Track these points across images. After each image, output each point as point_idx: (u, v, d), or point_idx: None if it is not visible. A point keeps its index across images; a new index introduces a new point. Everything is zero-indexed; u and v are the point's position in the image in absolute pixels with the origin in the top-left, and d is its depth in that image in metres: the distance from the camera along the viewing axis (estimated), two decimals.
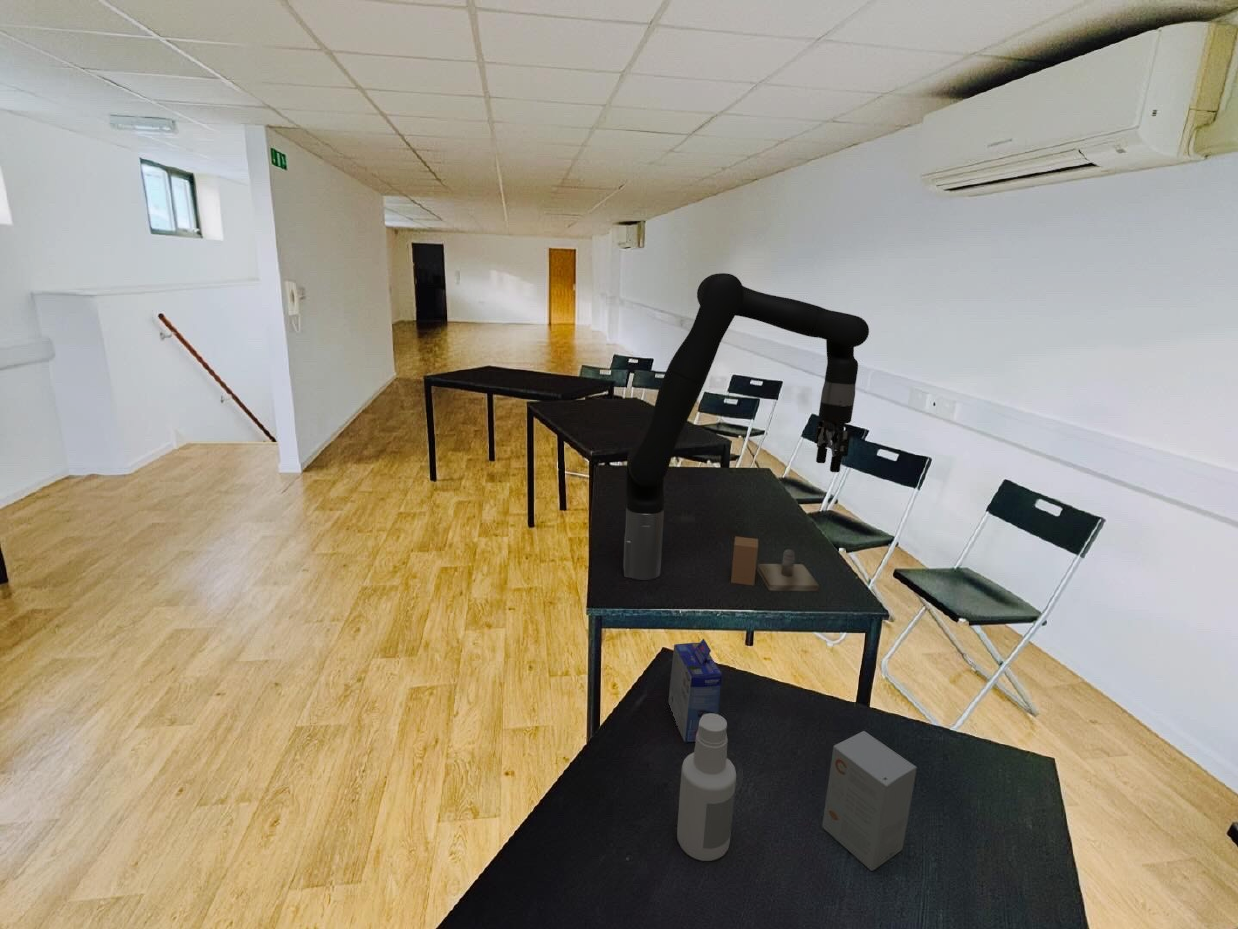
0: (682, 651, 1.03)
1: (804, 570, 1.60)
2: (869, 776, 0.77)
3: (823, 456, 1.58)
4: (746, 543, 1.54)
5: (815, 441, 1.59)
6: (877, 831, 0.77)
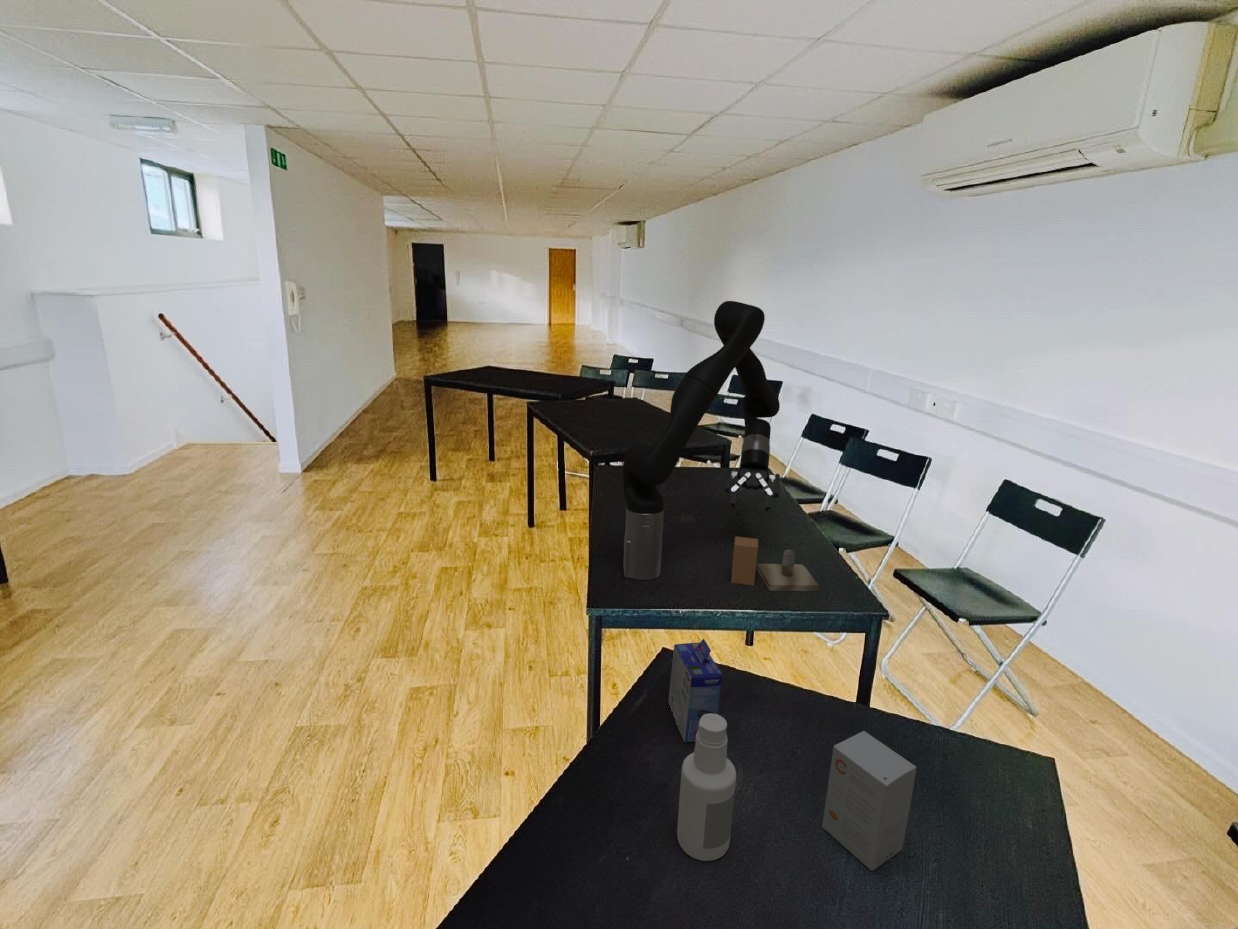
0: (682, 651, 1.03)
1: (804, 570, 1.60)
2: (869, 776, 0.77)
3: None
4: (746, 543, 1.54)
5: (727, 486, 1.67)
6: (877, 831, 0.77)
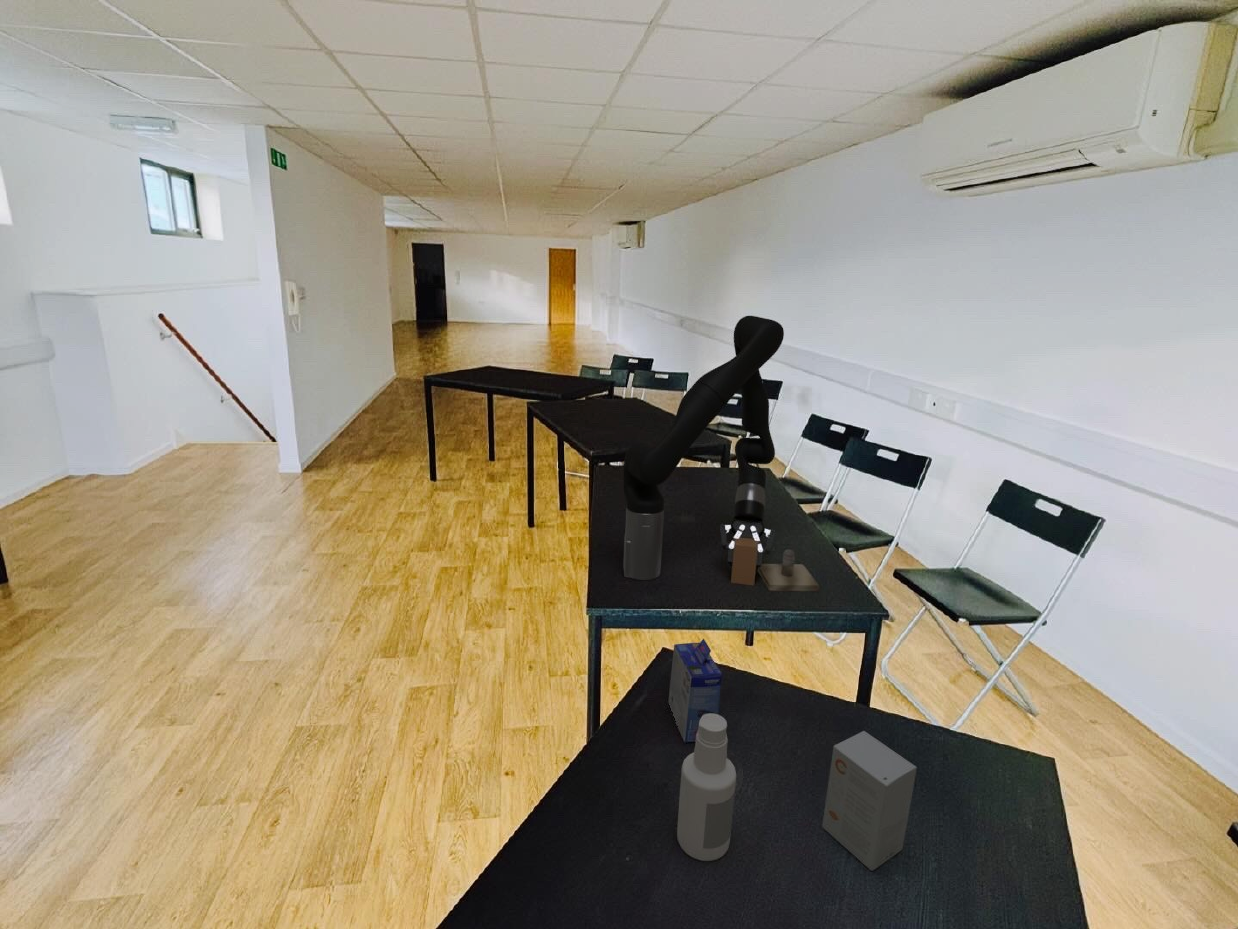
0: (682, 651, 1.03)
1: (804, 570, 1.60)
2: (869, 776, 0.77)
3: None
4: (746, 543, 1.54)
5: (725, 543, 1.57)
6: (877, 831, 0.77)
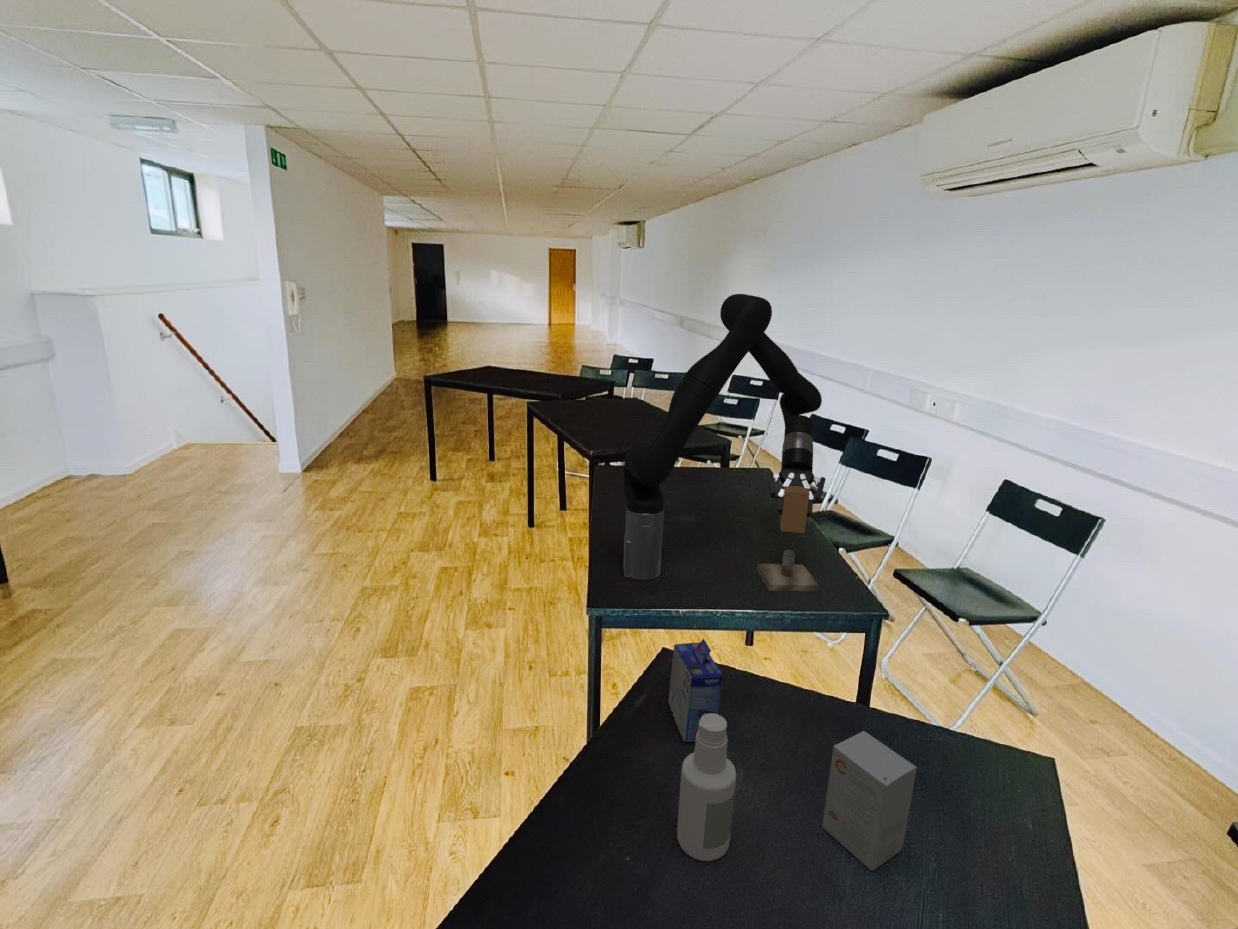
0: (682, 651, 1.03)
1: (804, 570, 1.60)
2: (869, 776, 0.77)
3: None
4: (796, 490, 1.51)
5: (774, 491, 1.54)
6: (877, 831, 0.77)
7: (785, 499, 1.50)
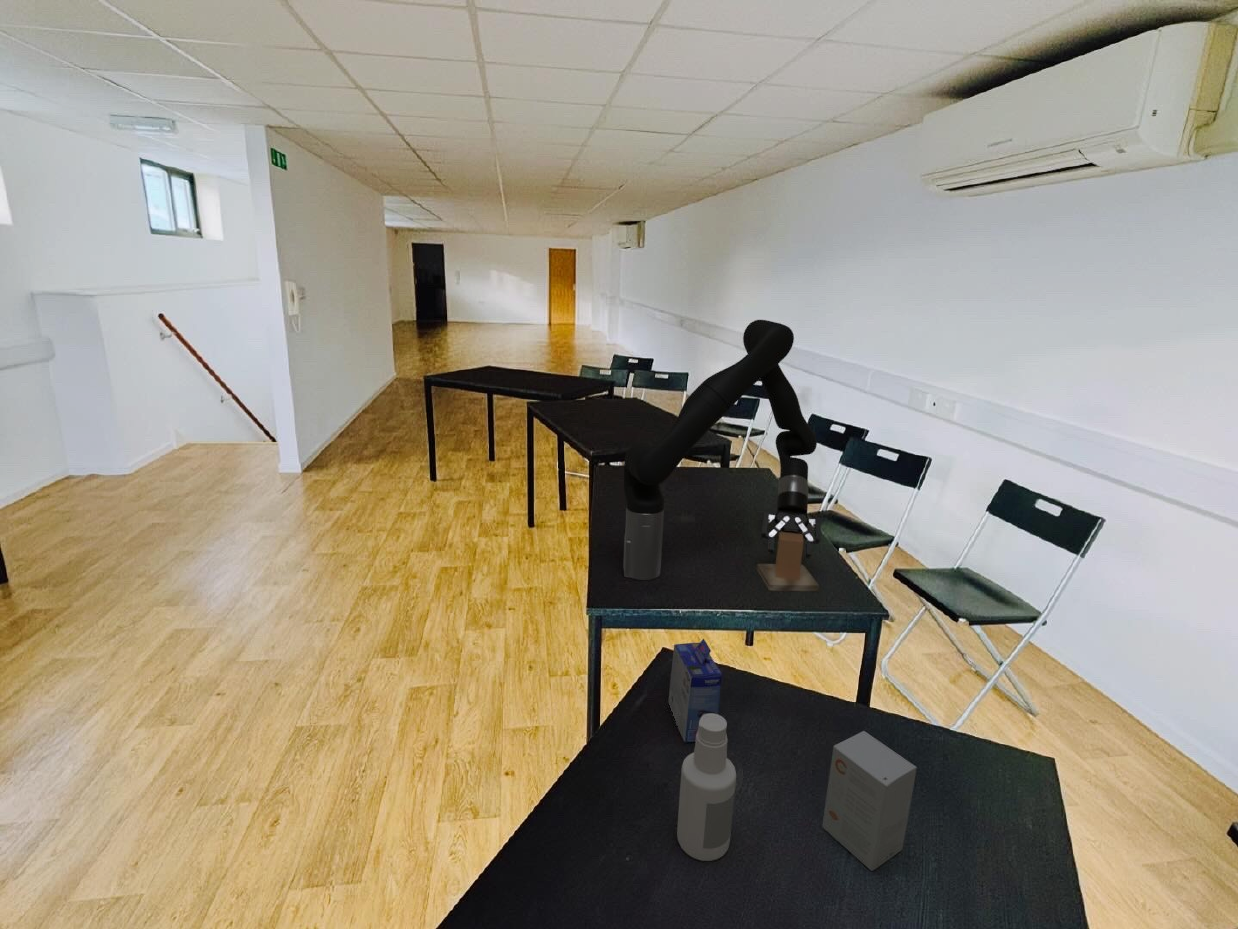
0: (682, 651, 1.03)
1: (804, 570, 1.60)
2: (869, 776, 0.77)
3: None
4: (791, 538, 1.54)
5: (764, 531, 1.57)
6: (877, 831, 0.77)
7: (780, 547, 1.53)
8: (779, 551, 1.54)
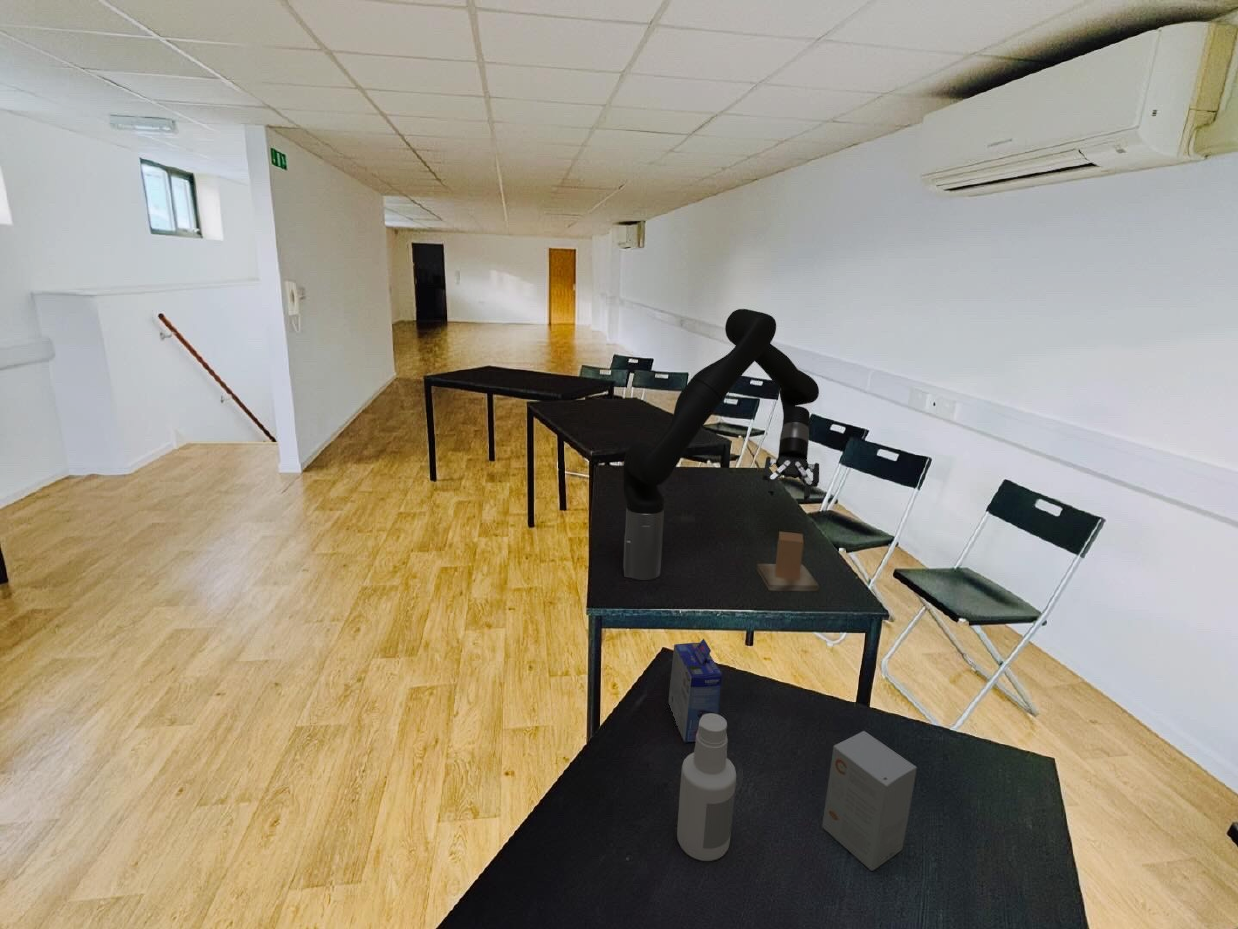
0: (682, 651, 1.03)
1: (804, 570, 1.60)
2: (869, 776, 0.77)
3: None
4: (791, 538, 1.54)
5: (766, 474, 1.66)
6: (877, 831, 0.77)
7: (780, 547, 1.53)
8: (779, 551, 1.54)
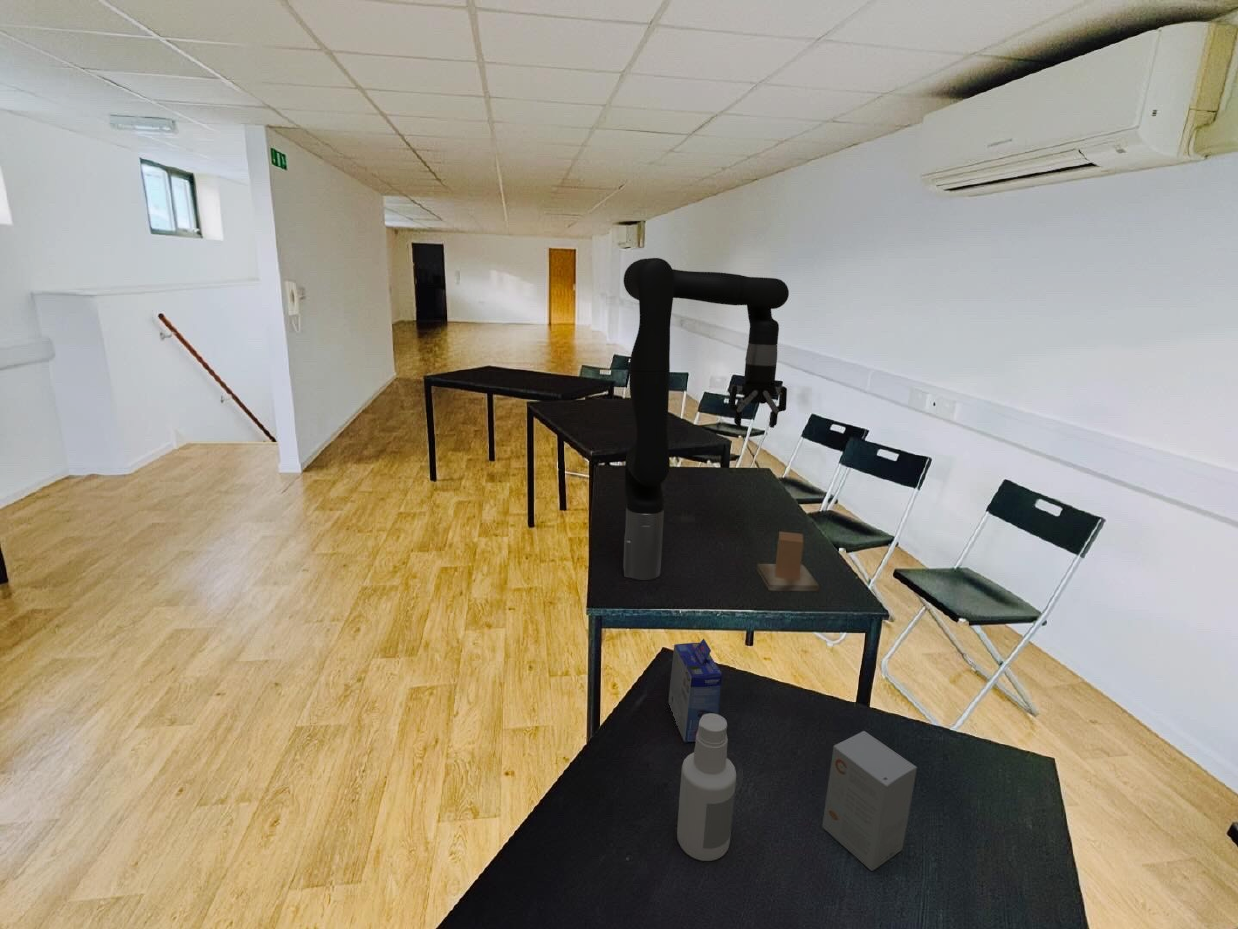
0: (682, 651, 1.03)
1: (804, 570, 1.60)
2: (869, 776, 0.77)
3: None
4: (791, 538, 1.54)
5: (733, 407, 1.58)
6: (877, 831, 0.77)
7: (780, 547, 1.53)
8: (779, 551, 1.54)
